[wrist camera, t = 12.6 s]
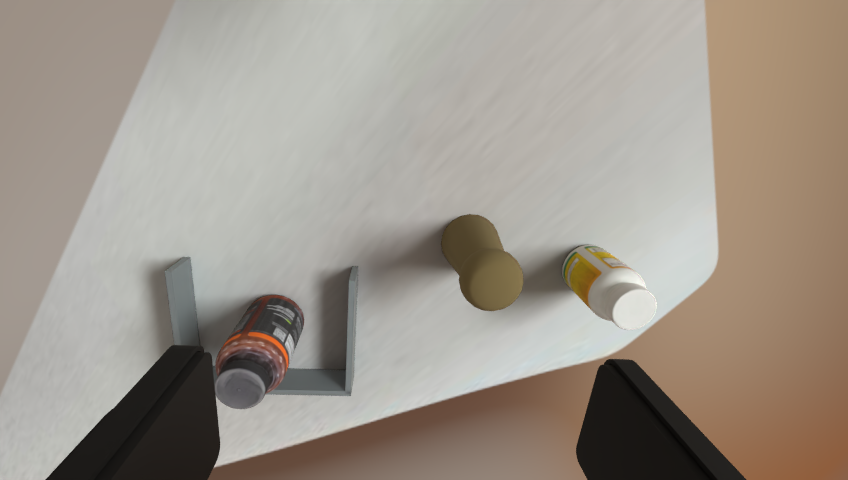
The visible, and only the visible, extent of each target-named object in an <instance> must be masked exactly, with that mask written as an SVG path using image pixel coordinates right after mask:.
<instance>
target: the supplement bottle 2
mask: <svg viewBox="0 0 848 480" xmlns="http://www.w3.org/2000/svg"><path fill="white" fill-rule="evenodd" d="M562 275H563V279H564V281H565V282H566V284H567V285H568V286H569V287H570V288H571V289H572V290H573V291H574V292H575V293H576V294H577V295H578V296H579V298H580V299H581V300H582V301H583V302H584V303H585V304H586V305H587V306H588V307H589V308H590V309H591V310H592V311H593V312H594V313H595V314H596V315H597V316H599V317H600V318H602V319H605V320H609V321H612V322H614V323H615V324H616V325H617V326H618V327H620V328H622V329H625V330H635V329H638V328H641V327H643V326H644V325H646V324H647V323H648V322H649V321H650V320H651V319H652V318H653V316H654V314H655V312H656V308H657V303H656V299H655V297H654V296H653V294H652V293H650V292H649V291H648V290H647V289H646V285H645V282H644V280H643V279H642V277H641V276H640V275H639V274H638V273H637V272H635V271H634V270H633V269H631V268H630V267H628V266H627V265H626V264H624V263H623V262H621V261H620V260H618V259H617V258H615V257H614V256H613V255H611V254H610V253H608V252H607V251H606V250H604V249H603V248H601V247H598V246H595V245H584V246H580V247H578V248H576V249H575V250H573V251H572V252H571V253H570V254H569V255H568V256H567V258H566V259H565V261H564V263H563V267H562Z"/></svg>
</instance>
